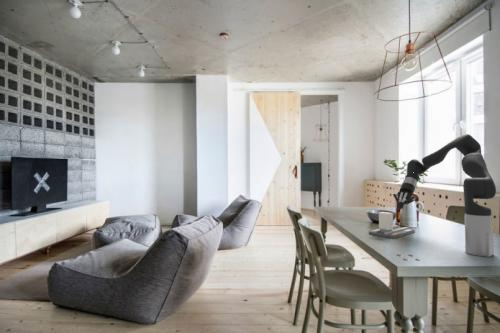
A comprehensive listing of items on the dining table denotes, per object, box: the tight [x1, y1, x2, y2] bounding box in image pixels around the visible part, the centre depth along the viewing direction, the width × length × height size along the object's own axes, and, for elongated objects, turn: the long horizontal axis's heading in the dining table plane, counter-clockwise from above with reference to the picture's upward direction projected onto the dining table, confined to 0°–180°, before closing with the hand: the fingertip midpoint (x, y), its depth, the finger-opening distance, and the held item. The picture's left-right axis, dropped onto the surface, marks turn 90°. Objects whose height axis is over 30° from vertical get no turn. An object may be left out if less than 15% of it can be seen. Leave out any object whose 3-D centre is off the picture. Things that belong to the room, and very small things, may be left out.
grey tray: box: [368, 224, 416, 239], centre depth 165 cm, size 14×24×2 cm, turn 125°
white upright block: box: [378, 211, 394, 233], centre depth 161 cm, size 6×5×11 cm
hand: (399, 208), depth 169 cm, fingers closed
